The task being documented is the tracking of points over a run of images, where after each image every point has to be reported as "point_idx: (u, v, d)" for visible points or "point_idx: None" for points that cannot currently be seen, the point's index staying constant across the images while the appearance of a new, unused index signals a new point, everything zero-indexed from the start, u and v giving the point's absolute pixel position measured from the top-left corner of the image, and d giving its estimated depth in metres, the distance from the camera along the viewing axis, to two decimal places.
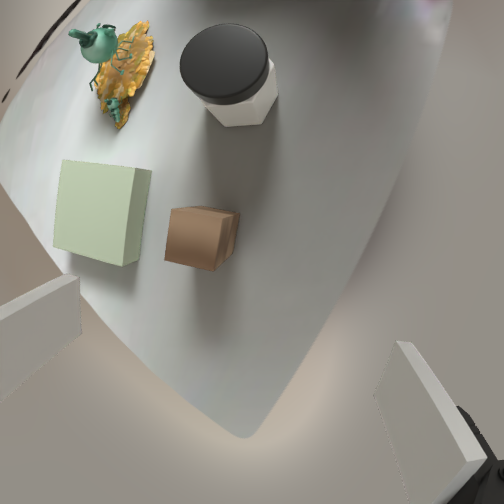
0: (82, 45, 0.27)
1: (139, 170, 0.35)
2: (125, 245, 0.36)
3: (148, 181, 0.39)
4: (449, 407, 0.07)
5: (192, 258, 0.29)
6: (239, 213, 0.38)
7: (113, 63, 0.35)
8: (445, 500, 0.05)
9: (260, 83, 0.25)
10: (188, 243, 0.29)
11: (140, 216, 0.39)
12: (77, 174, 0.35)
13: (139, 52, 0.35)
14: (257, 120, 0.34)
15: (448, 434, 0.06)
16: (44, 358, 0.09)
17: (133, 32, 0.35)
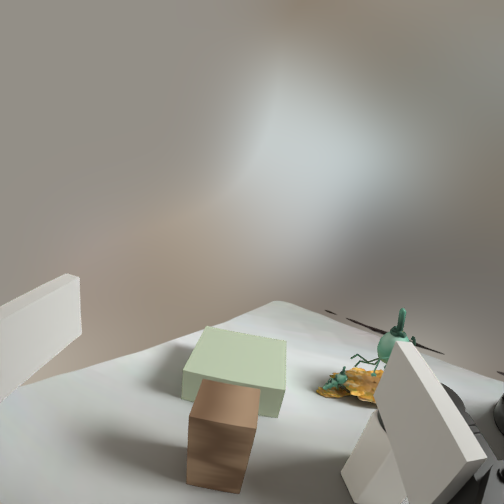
0: (392, 329, 0.40)
1: (281, 397, 0.34)
2: (204, 376, 0.34)
3: (266, 413, 0.35)
4: (449, 407, 0.07)
5: (205, 400, 0.23)
6: (239, 492, 0.23)
7: (376, 377, 0.43)
8: (445, 500, 0.05)
9: None
10: (222, 398, 0.23)
11: None
12: (274, 349, 0.42)
13: None
14: (361, 490, 0.21)
15: (448, 434, 0.06)
16: (44, 358, 0.09)
17: None
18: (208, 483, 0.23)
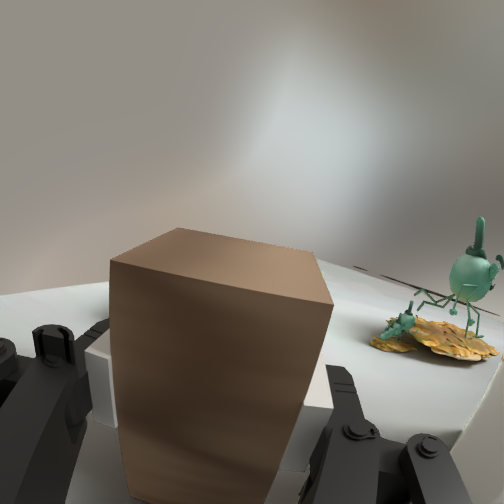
0: (468, 249, 0.26)
1: None
2: None
3: None
4: None
5: (172, 246, 0.09)
6: None
7: (444, 327, 0.28)
8: (309, 454, 0.07)
9: None
10: (221, 250, 0.09)
11: None
12: None
13: (472, 344, 0.24)
14: (501, 486, 0.07)
15: None
16: None
17: (482, 342, 0.27)
18: (178, 501, 0.09)
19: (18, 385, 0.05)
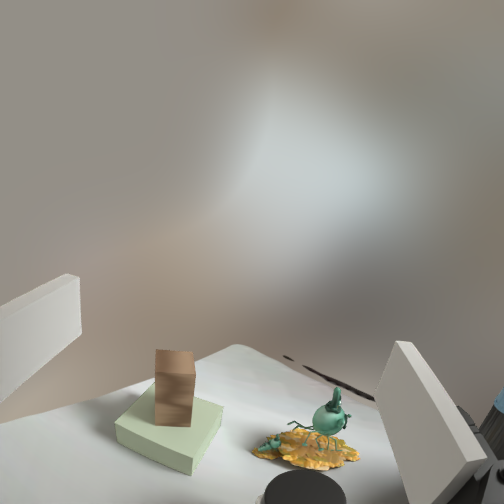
0: (327, 404, 0.40)
1: (190, 462, 0.33)
2: (129, 431, 0.35)
3: (181, 471, 0.34)
4: (449, 407, 0.07)
5: (161, 361, 0.37)
6: (190, 425, 0.38)
7: (314, 440, 0.43)
8: (445, 500, 0.05)
9: None
10: (171, 359, 0.38)
11: (152, 455, 0.35)
12: (205, 415, 0.42)
13: (326, 457, 0.39)
14: None
15: (448, 434, 0.06)
16: (44, 358, 0.09)
17: (346, 450, 0.42)
18: (169, 421, 0.38)
19: None
